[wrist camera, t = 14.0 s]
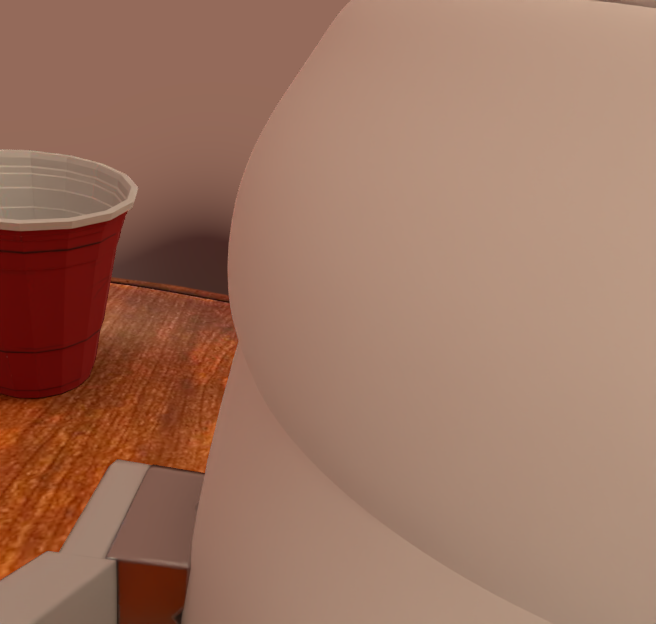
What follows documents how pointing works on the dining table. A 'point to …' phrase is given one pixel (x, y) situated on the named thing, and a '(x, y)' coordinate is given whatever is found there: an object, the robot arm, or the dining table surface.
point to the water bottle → (444, 328)
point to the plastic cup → (55, 266)
